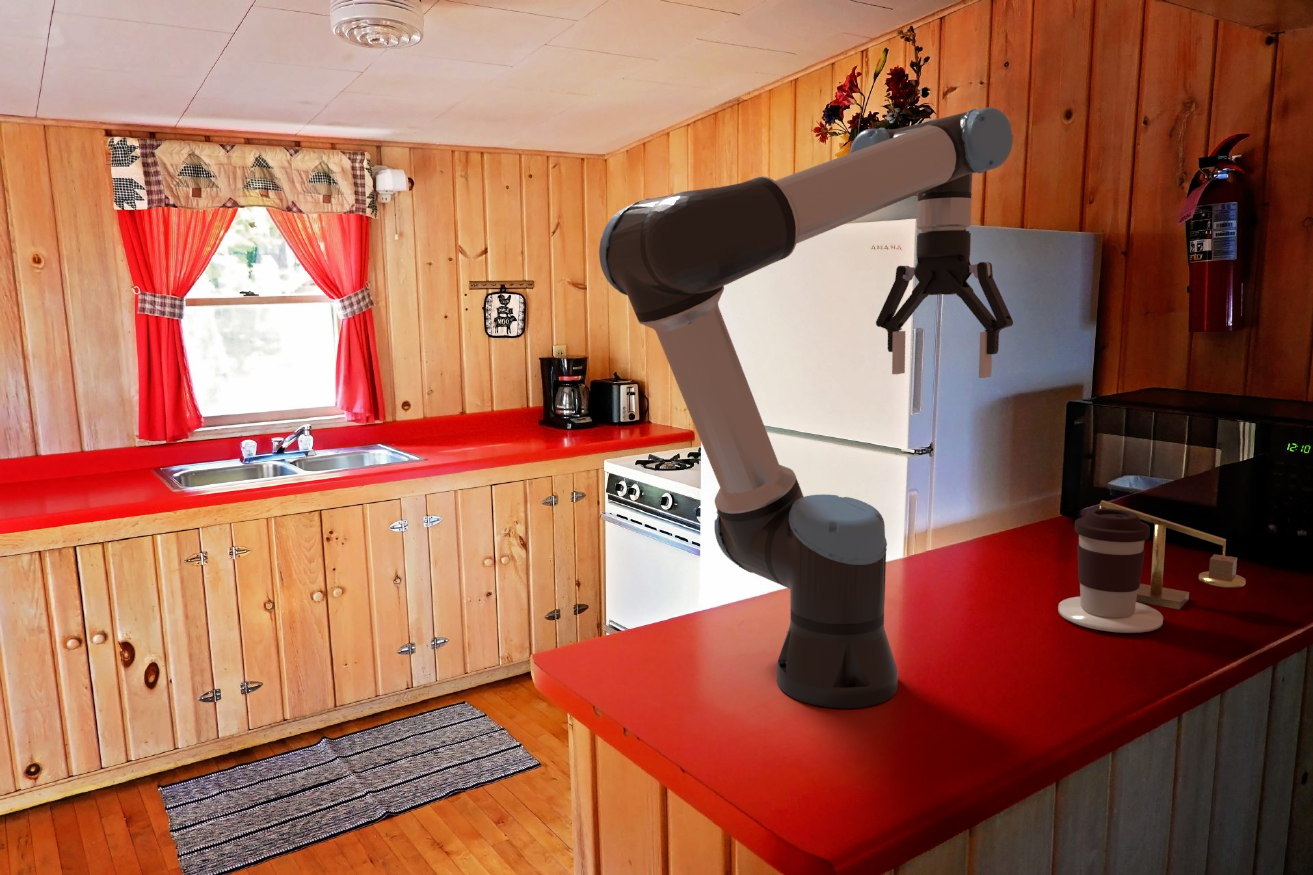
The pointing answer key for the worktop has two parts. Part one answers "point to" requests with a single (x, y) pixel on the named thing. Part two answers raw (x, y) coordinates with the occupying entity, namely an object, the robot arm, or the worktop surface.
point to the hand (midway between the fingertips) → (940, 375)
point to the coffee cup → (1110, 561)
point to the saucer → (1135, 623)
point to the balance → (1218, 575)
